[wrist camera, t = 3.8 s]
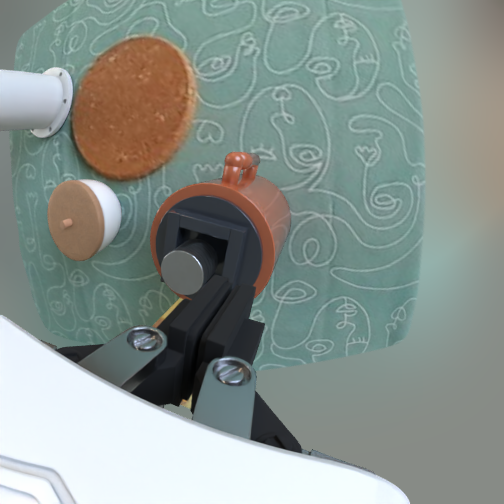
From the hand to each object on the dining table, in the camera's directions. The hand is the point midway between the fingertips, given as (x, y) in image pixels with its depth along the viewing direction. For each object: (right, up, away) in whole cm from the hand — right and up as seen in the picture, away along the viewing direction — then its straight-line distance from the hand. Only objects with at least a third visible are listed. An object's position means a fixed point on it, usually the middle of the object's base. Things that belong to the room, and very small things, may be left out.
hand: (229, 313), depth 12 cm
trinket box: (-21, +9, +29) cm, 37 cm away
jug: (0, +8, +24) cm, 26 cm away
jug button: (-3, +2, +11) cm, 11 cm away
